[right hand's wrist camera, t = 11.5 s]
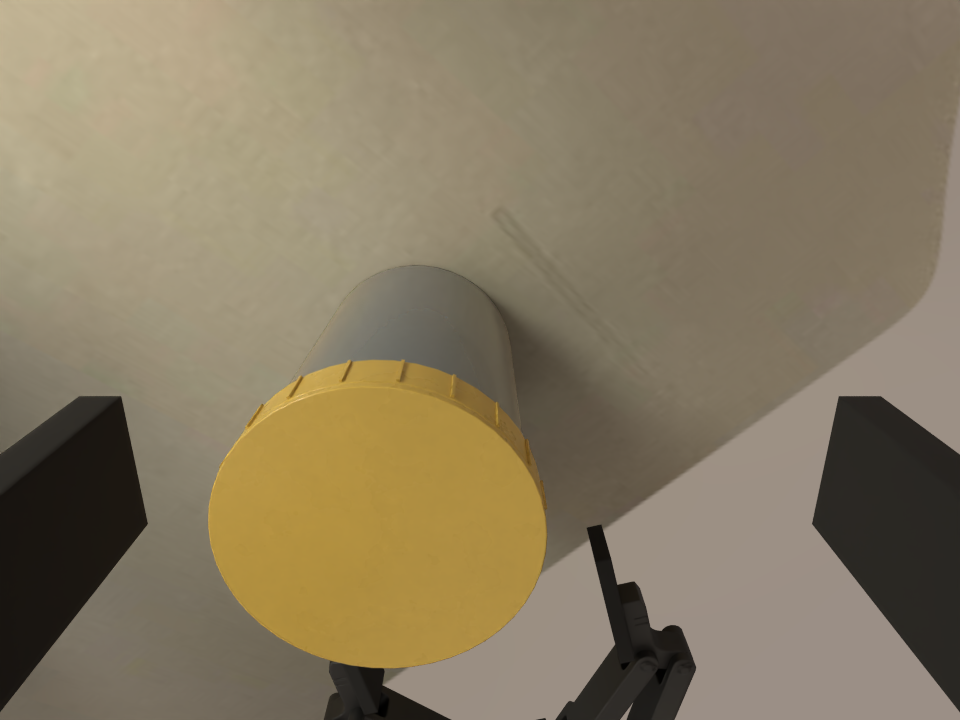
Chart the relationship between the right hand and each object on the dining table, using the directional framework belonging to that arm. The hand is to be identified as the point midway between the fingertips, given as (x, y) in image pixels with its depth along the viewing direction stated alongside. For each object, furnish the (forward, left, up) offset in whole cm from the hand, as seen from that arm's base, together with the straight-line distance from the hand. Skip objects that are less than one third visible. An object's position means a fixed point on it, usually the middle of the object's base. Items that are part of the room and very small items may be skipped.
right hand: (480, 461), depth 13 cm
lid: (-4, -6, -7) cm, 10 cm away
